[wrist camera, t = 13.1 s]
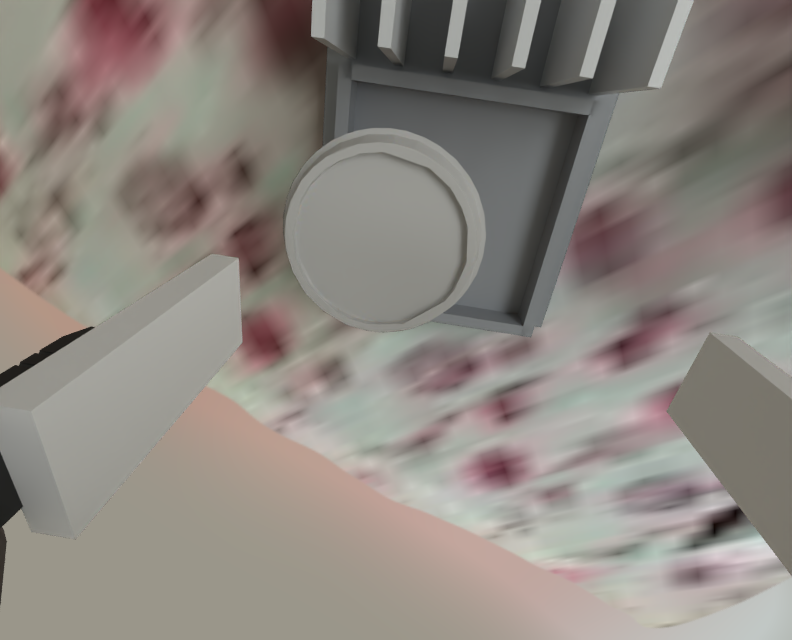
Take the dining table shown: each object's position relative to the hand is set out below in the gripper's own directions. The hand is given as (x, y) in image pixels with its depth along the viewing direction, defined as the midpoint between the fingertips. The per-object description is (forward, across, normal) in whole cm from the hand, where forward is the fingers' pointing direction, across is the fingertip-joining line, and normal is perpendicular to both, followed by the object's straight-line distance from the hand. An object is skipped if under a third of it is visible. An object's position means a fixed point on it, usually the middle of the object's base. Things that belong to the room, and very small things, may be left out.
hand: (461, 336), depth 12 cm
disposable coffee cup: (+19, -3, 0) cm, 20 cm away
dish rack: (+21, 0, +3) cm, 21 cm away
